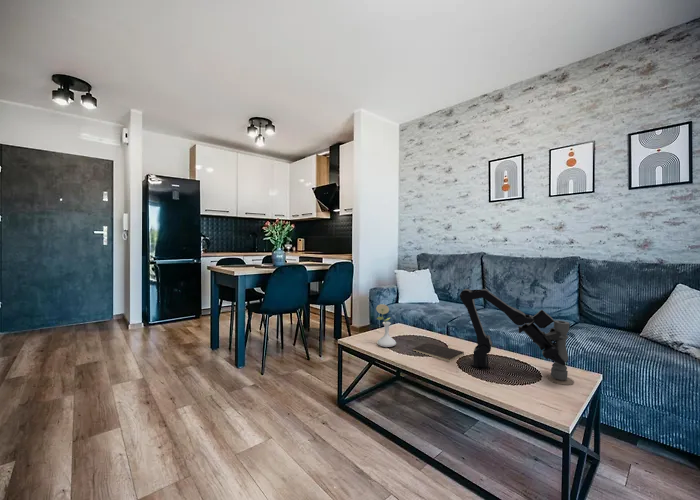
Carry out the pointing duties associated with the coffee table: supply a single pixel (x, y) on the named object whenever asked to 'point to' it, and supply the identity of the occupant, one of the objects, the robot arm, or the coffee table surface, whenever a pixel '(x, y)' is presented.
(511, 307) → the robot arm
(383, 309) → the flower in vase
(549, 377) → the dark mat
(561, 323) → the candle holder
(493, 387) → the coffee table surface
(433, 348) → the hardcover book
